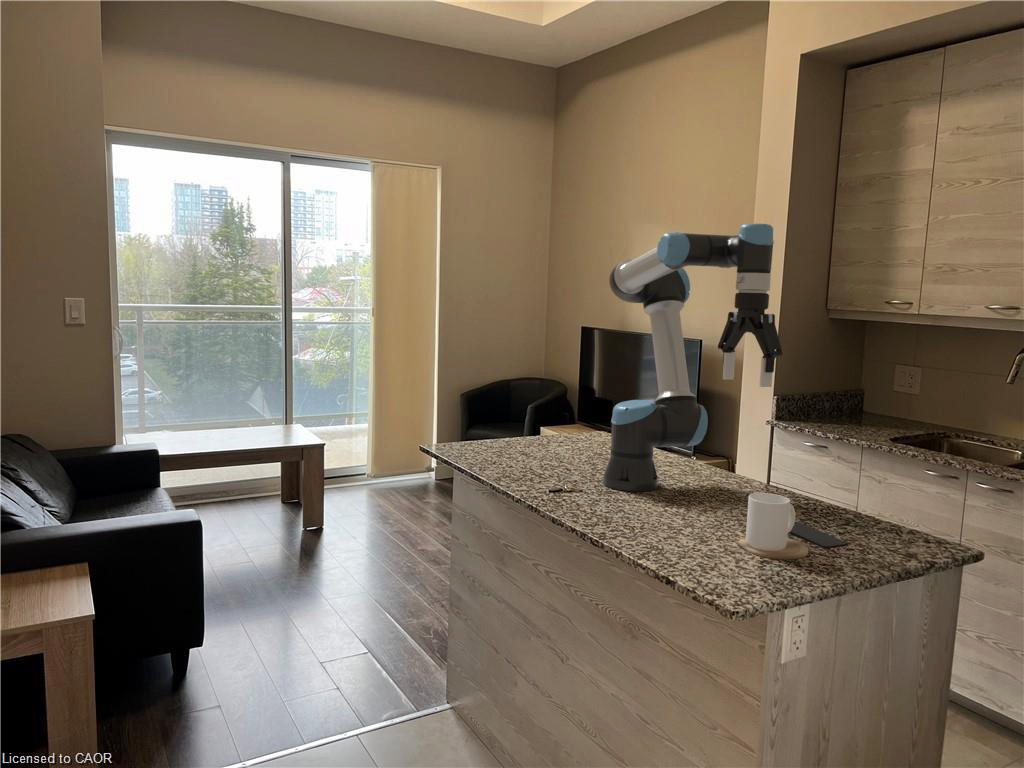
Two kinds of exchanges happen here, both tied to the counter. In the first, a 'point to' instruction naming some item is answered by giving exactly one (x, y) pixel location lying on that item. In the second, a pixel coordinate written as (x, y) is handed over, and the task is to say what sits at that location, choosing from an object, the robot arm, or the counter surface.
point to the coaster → (789, 553)
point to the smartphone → (816, 536)
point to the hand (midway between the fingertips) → (746, 383)
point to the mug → (769, 521)
